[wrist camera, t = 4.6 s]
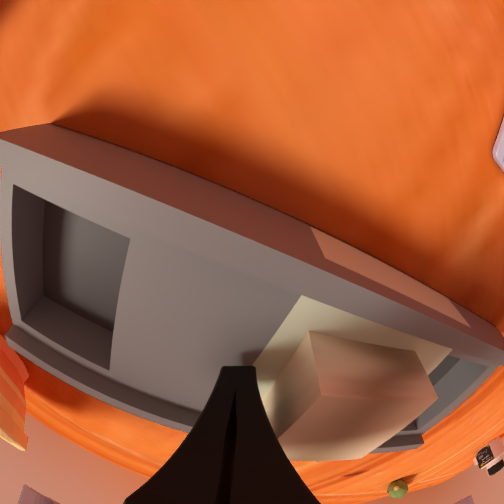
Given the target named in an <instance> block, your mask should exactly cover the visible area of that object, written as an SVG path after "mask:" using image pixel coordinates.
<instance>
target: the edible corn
mask: <svg viewBox="0 0 504 504" xmlns="http://www.w3.org/2000/svg"><path fill="white" fill-rule="evenodd" d="M407 491H408V486H407V484H406V482H404V481H403V480H397V481H394V482H391V483H390V485H389V486H388V490H387V492H388V493H390V496H391V497H394V498H401V497H403V496H404V495H405V494H406V492H407Z"/></svg>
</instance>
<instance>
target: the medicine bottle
mask: <svg viewBox="0 0 504 504" xmlns="http://www.w3.org/2000/svg"><path fill="white" fill-rule="evenodd" d="M502 454H504V446H503V443H502V441H501V439H500V437H497V438H495V439H494V440H492V441H490V442H488V443H487V444H486V445H485V446H483V447H482V448H481V449H480V450H478V451H477V452H476V453H475V457H476V459H477V462H478V465H479V468H480V469H483V468H484V467H487V468H486V470H487V473H488V476H492V475H493V474H495V473H496V472H498V471H499V470H501V469H502V468H503V467H504V461H503V459H502V457H501V455H502Z"/></svg>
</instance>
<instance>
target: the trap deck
mask: <svg viewBox="0 0 504 504" xmlns="http://www.w3.org/2000/svg"><path fill="white" fill-rule="evenodd" d="M0 167H1V179H0V245H1V257H2V267H3V275H4V282H5V288H6V294H7V300H8V305H9V310H10V314H11V319H12V323H13V325H12V326H11V327H10V328H9V330H8V331H7V332H6V333H5V338H6V341H7V344H8V345H9V346H10V347H11V348H13V349H14V350H15V351H17V352H18V353H19V354H21V355H22V356H24V357H25V358H27V359H28V360H30V361H31V362H33V363H34V364H36V365H37V366H39V367H40V368H42V369H43V370H45V371H47V372H48V373H50V374H52V375H53V376H55V377H57V378H58V379H60V380H62V381H64V382H65V383H67V384H69V385H71V386H73V387H75V388H76V389H78V390H80V391H82V392H84V393H86V394H88V395H90V396H92V397H94V398H96V399H98V400H101V401H103V402H105V403H107V404H109V405H112V406H114V407H116V408H118V409H121V410H123V411H126V412H128V413H131V414H133V415H136V416H138V417H141V418H144V419H146V420H149V421H152V422H155V423H158V424H161V425H164V426H167V427H170V428H173V429H176V430H180V431H183V432H187V433H189V432H190V431H191V429H192V428H193V426H194V424H195V423H196V421H197V419H198V418H199V416H200V414H201V413H202V411H203V409H204V407H205V405H206V403H207V401H208V399H209V397H210V395H211V393H212V391H213V388H214V386H215V384H216V381H217V379H218V376H219V373H220V370H221V367H223V366H254V367H256V376H257V384H258V388H259V392H260V396H261V399H263V397H264V396H265V395H266V393H267V392H268V390H269V389H270V388H271V386H272V385H273V383H274V382H275V381H276V379H277V378H278V376H279V375H280V373H281V372H282V371H283V369H284V368H285V366H286V365H287V363H288V362H289V360H290V359H291V357H292V356H293V354H294V353H295V351H296V350H297V348H298V347H299V345H300V343H301V342H302V340H303V339H304V337H305V336H306V334H307V332H308V331H311V332H315V333H320V334H325V335H329V336H334V337H339V338H343V339H348V340H353V341H359V342H364V343H369V344H375V345H380V346H386V347H392V348H398V349H404V350H410V351H415V352H416V354H417V356H418V358H419V360H420V361H421V363H422V365H423V367H424V369H425V371H426V373H427V375H428V377H429V379H430V381H431V383H432V385H433V387H434V389H435V392H436V394H437V396H438V399H437V400H436V401H435V402H434V403H433V404H432V405H431V406H430V407H429V408H427V409H426V410H425V411H424V412H423V413H422V414H420V415H419V416H418V417H417V418H416V419H415V420H413V421H412V422H411V423H410V424H408V425H407V426H406V427H405V428H403V429H402V430H401V431H399V432H398V433H397V434H395V435H394V436H393V437H391V438H390V439H389V440H387V441H386V442H384V443H383V444H382V445H380V446H379V447H377V448H376V449H374V450H373V451H371V452H370V453H383V452H394V451H403V450H411V449H417V448H418V447H420V446H421V445H423V444H424V441H423V438H422V434H423V433H425V432H426V431H428V430H429V429H430V428H432V427H433V426H434V425H436V424H437V423H438V422H440V421H441V420H442V419H443V418H445V417H446V416H447V415H448V414H449V413H451V412H452V411H453V410H454V409H455V408H457V407H458V406H459V405H460V404H461V403H462V402H463V401H465V400H466V399H467V398H468V397H469V396H470V395H471V394H472V393H473V392H474V391H475V390H476V389H477V388H478V387H479V386H480V385H481V384H482V383H483V382H484V381H485V380H486V379H487V378H488V377H489V376H490V375H491V374H492V373H493V372H494V371H495V370H496V369H497V368H498V367H499V365H503V366H504V337H503V336H502V334H501V333H500V332H499V330H498V329H497V328H496V327H495V326H494V325H492V324H491V323H489V322H488V321H486V320H485V319H483V318H481V317H480V316H478V315H476V314H475V313H473V312H472V311H470V310H468V309H467V308H465V307H463V306H462V305H460V304H458V303H457V302H455V301H453V300H452V299H450V298H448V297H446V296H445V295H443V294H441V293H439V292H438V291H436V290H434V289H432V288H431V287H429V286H427V285H425V284H424V283H422V282H420V281H418V280H416V279H415V278H413V277H411V276H409V275H407V274H405V273H404V272H402V271H400V270H398V269H396V268H394V267H393V266H391V265H389V264H387V263H385V262H383V261H381V260H379V259H377V258H375V257H374V256H372V255H370V254H368V253H366V252H364V251H362V250H360V249H358V248H356V247H354V246H352V245H350V244H348V243H346V242H344V241H342V240H340V239H338V238H336V237H334V236H332V235H330V234H328V233H326V232H324V231H322V230H319V229H317V228H315V227H313V226H311V225H309V224H307V223H305V222H303V221H300V220H298V219H296V218H294V217H292V216H290V215H288V214H285V213H283V212H281V211H279V210H277V209H274V208H272V207H270V206H268V205H266V204H263V203H261V202H259V201H256V200H254V199H252V198H250V197H247V196H245V195H243V194H240V193H238V192H236V191H233V190H231V189H229V188H226V187H224V186H222V185H219V184H217V183H214V182H212V181H210V180H207V179H205V178H202V177H200V176H197V175H195V174H192V173H190V172H187V171H185V170H182V169H180V168H177V167H175V166H172V165H169V164H167V163H164V162H162V161H159V160H156V159H154V158H151V157H148V156H146V155H143V154H140V153H138V152H135V151H132V150H129V149H126V148H124V147H121V146H118V145H115V144H112V143H109V142H107V141H104V140H101V139H98V138H95V137H92V136H89V135H86V134H83V133H80V132H76V131H73V130H70V129H67V128H64V127H60V126H57V125H54V124H51V123H48V124H41V125H35V126H29V127H23V128H18V129H13V130H8V131H4V132H0Z"/></svg>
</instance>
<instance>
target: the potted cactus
mask: <svg viewBox="0 0 504 504" xmlns="http://www.w3.org/2000/svg"><path fill="white" fill-rule="evenodd" d="M28 377H29V374H28V372H27V369H26V367H25V365H24V363H23V361H22V360H21V359H20V357H19V356H18V355H17V353H16V352H15V351H14V349H13V348H11V347H10V346H9V345H8V344H7V341H6V340H5V339H4V338H3V337H2V336H1V334H0V437H1V438H3V439H4V440H6V441H7V442H9V443H10V444H12V445H13V446H15V447H17V448H18V449H20V450H21V451H26V448H27V442H28V437H27V436H26V435H25V433H24V423H25V413H26V401H25V393H24V382H26V380H27V379H28Z"/></svg>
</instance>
